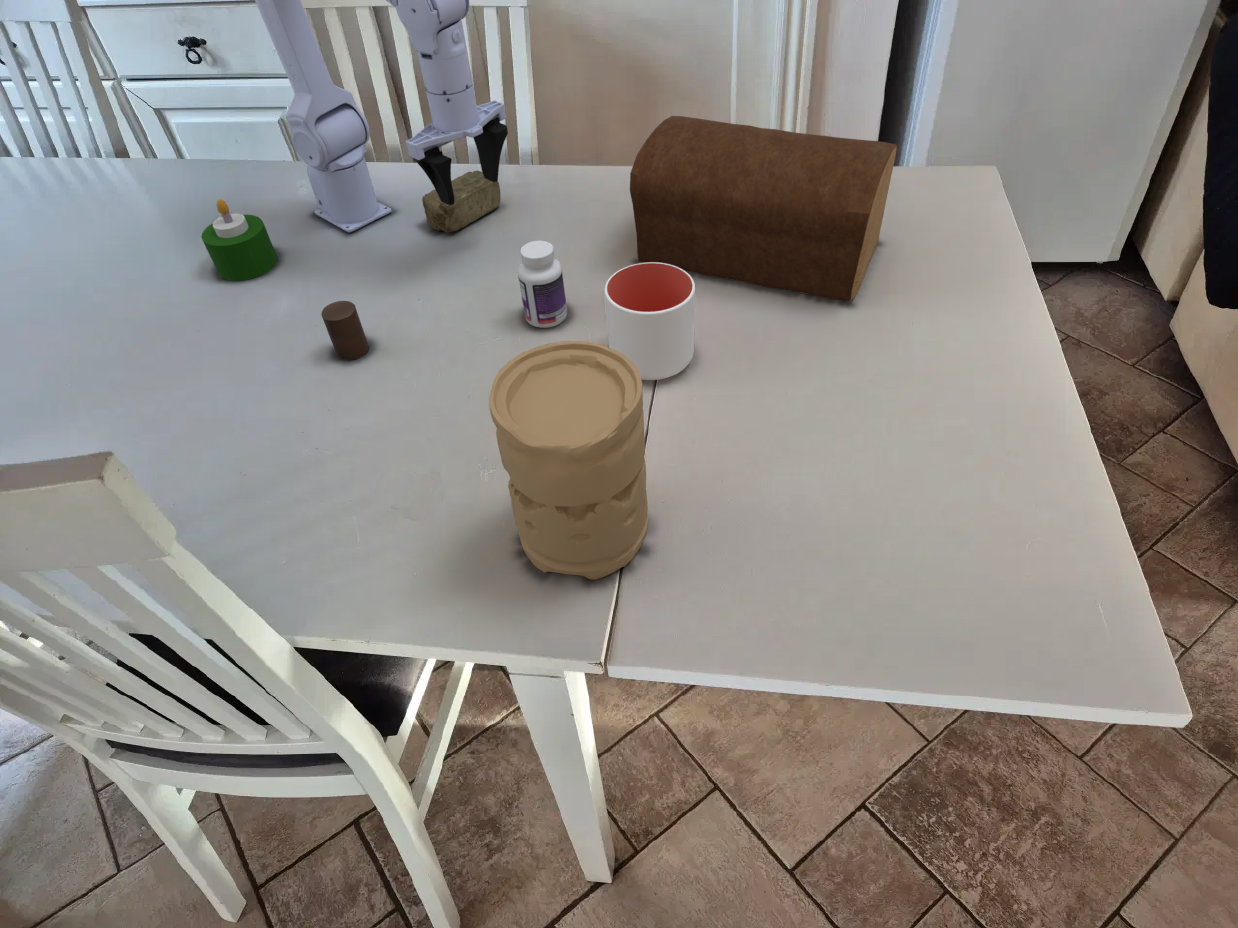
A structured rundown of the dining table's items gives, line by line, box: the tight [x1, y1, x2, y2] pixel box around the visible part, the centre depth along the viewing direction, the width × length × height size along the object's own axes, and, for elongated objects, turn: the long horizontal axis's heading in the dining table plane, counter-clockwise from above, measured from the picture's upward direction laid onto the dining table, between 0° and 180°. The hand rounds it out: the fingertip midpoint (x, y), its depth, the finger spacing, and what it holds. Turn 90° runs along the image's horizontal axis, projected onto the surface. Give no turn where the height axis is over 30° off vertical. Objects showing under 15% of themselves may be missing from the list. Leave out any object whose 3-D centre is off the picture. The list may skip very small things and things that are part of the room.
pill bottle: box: [517, 240, 568, 329], centre depth 100 cm, size 5×5×10 cm
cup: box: [603, 262, 696, 381], centre depth 93 cm, size 10×10×10 cm
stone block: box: [421, 170, 502, 234], centre depth 120 cm, size 6×12×5 cm, turn 140°
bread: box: [629, 115, 898, 302], centre depth 105 cm, size 18×30×16 cm, turn 67°
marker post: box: [320, 300, 370, 361], centre depth 98 cm, size 4×4×6 cm
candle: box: [201, 198, 278, 282], centre depth 112 cm, size 8×8×10 cm
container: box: [488, 340, 649, 581], centre depth 72 cm, size 13×13×18 cm
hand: (469, 190), depth 108 cm, fingers open, 7 cm apart
